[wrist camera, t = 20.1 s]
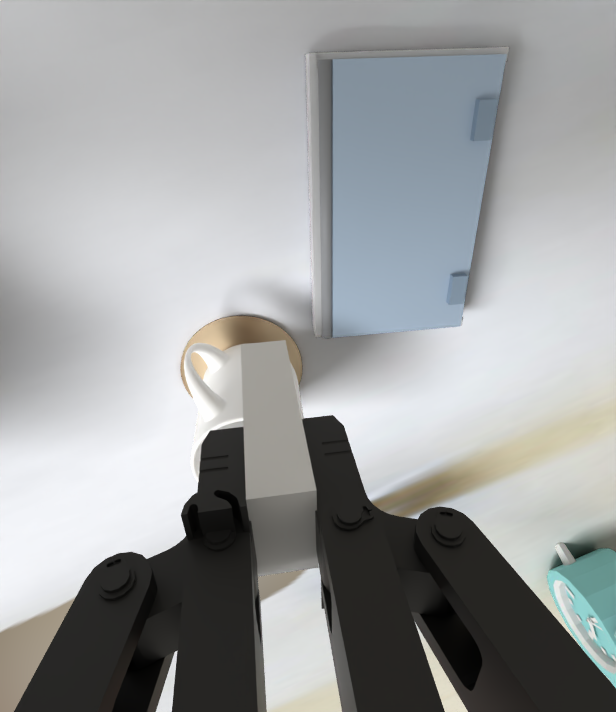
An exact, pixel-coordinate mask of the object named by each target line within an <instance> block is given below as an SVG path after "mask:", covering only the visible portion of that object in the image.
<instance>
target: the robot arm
mask: <svg viewBox="0 0 616 712" xmlns="http://www.w3.org/2000/svg"><path fill="white" fill-rule="evenodd" d="M241 367H242V397H243V426H244V427H237V428H228V429H220V430H211V431H209V433H208V435H207V436H206V438H205V439H204V441H203V443H202V444H201V456H200V460H201V461H200V469H199V471H200V473H199V481H198V493H196V494H194V495H193V496H192V497H191V498H190V499H189V500H188V501H187V502H186V504H185V505H184V508H183V510H182V513H181V517H182V521H183V525H184V528H185V532H186V537H185V538H184V539H183V540H182V541H181V542H180V543H178V544H177V545H176V546H174V547H172V548H170V549H169V550H167V551H164V552H162V553H160V554H158V555H155V556H153V557H151V558H148V559H146V558H145V557H144V556H143V555H140V554H137V553H133V552H127V553H119V554H116V555H114V556H111V557H109V558H107V559H105V560H104V561H103V562H101V563H100V564H99V565H97V566H96V567H95V568H94V569H93V570H92V572H91V573H90V574H89V576H88V577H87V578H86V580H85V581H84V583H83V585H82V587H81V589H80V591H79V592H78V594H77V596H76V598H75V600H74V602H73V604H72V606H71V607H70V609H69V611H68V613H67V615H66V616H65V618H64V620H63V622H62V624H61V626H60V628H59V630H58V631H57V633H56V635H55V637H54V639H53V641H52V642H51V644H50V646H49V648H48V650H47V652H46V653H45V655H44V657H43V659H42V661H41V663H40V665H39V666H38V668H37V670H36V672H35V674H34V676H33V678H32V679H31V682H30V683H29V685H28V687H27V689H26V691H25V692H24V694H23V696H22V698H21V700H20V702H19V703H18V705H17V707H16V709H15V711H14V712H156V709H157V706H158V702H159V699H160V696H161V693H162V690H163V687H164V684H165V680H166V677H167V674H168V671H169V668H170V665H171V662H172V658H173V655H174V652H175V651H177V650H178V652H177V663H176V674H175V684H174V695H173V706H172V712H267V711H266V693H265V676H264V658H263V641H262V624H261V606H260V596H259V589H258V576H265V575H271V574H278V573H284V572H291V571H298V570H304V569H311V568H318V567H319V568H320V574H321V596H322V609H323V608H324V609H325V614H326V620H327V626H328V632H329V638H330V643H331V649H332V655H333V661H334V666H335V672H336V678H337V684H338V690H339V695H340V701H341V707H342V712H445V711H444V708H443V705H442V702H441V699H440V696H439V693H438V690H437V687H436V684H435V681H434V678H433V675H432V672H431V669H430V666H429V663H428V660H427V657H426V654H425V651H424V649H423V646H422V643H421V640H420V637H419V634H418V631H417V628H416V625H415V622H416V624H417V626H418V627H419V629H420V631H421V633H422V634H423V636H424V638H425V639H426V641H427V643H428V644H429V646H430V648H431V649H432V651H433V653H434V655H435V656H436V658H437V660H438V661H439V663H440V665H441V666H442V668H443V670H444V671H445V673H446V675H447V677H448V678H449V680H450V682H451V683H452V685H453V687H454V688H455V690H456V692H457V694H458V695H459V697H460V699H461V700H462V702H463V704H464V705H465V707H466V709H467V710H468V712H616V688H615V687H614V686H613V684H612V683H611V682H610V681H609V680H608V679H607V677H606V676H605V675H604V674H603V673H602V672H601V670H600V669H599V668H598V667H597V666H596V665H595V663H594V662H593V661H592V660H591V659H590V658H589V656H588V655H587V654H586V653H585V652H584V651H583V649H582V648H581V647H580V646H579V645H578V644H577V642H576V641H575V640H574V639H573V638H572V637H571V635H570V634H569V633H568V632H567V631H566V630H565V628H564V627H563V626H562V625H561V624H560V623H559V621H558V620H557V619H556V618H555V617H554V616H553V614H552V613H551V612H550V611H549V610H548V609H547V607H546V606H545V605H544V604H543V603H542V602H541V600H540V599H539V598H538V597H537V596H536V595H535V594H534V592H533V591H532V590H531V589H530V588H529V587H528V585H527V584H526V583H525V582H524V581H523V580H522V578H521V577H520V576H519V575H518V574H517V573H516V571H515V570H514V569H513V568H512V567H511V566H510V564H509V563H508V562H507V561H506V560H505V559H504V557H503V556H502V555H501V554H500V553H499V552H498V550H497V549H496V548H495V547H494V546H493V545H492V543H491V542H490V541H489V540H488V539H487V538H486V536H485V535H484V534H483V533H482V532H481V531H480V529H479V528H478V527H477V526H476V525H475V524H474V522H473V521H472V520H470V519H469V518H468V517H467V516H466V515H465V514H463V513H461V512H459V511H457V510H454V509H452V508H446V507H435V508H430V509H428V510H426V511H425V512H423V513H422V514H421V515H420V517H419V518H418V519H412V518H405V517H399V516H394V515H390V514H388V513H385V512H383V511H381V510H380V509H378V508H377V507H376V506H374V505H373V504H372V503H371V501H370V500H369V499H368V497H367V495H366V493H365V490H364V487H363V484H362V481H361V478H360V475H359V472H358V469H357V466H356V462H355V459H354V456H353V453H352V450H351V447H350V444H349V442H348V438H347V435H346V432H345V428H344V426H343V425H342V424H341V423H340V422H339V421H338V420H337V419H336V418H335V417H334V416H333V415H331V416H322V417H314V418H305V419H302V418H301V413H300V408H299V403H298V398H297V393H296V389H295V384H294V379H293V374H292V369H291V364H290V360H289V355H288V350H287V345H286V340H281V341H270V342H260V343H250V344H241ZM318 563H319V566H318ZM414 621H415V622H414Z"/></svg>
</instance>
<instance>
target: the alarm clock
mask: <svg viewBox="0 0 616 712" xmlns="http://www.w3.org/2000/svg"><path fill="white" fill-rule="evenodd" d="M555 549H556V551H557V553H558V555H559V557H560V559H561V561H562V563H563V565H561V566H558V567H556V568H554V569H551V570H549V573H548V576H547V579H548V584H549V589H550V592H551V594H552V597H553V599H554V601H555V604H556V606H557V608H558V610H559V612H560V614H561V616H562V617H563V619H564V621H565V623H566V625H567V627H568V628H569V630H570V631H571V633H572V634H573V636H574V637H575V639H576V640H577V642H578V643H579V645H580V646H581V648H582V649H583V650H584V652H585V653H586V654H587V655H588V656H589V658H590V659H591V660H592V661H593V662H594V663H595V665H596V666H597V667H598V668H599V669H600V670H601V672H602V673H603V674H605V675H606V676H607V677H608V678H609V679H610V681H611V682H612V684H613V686H614V687H615V688H616V552H615V551H613V550H611V549H610V548H600V549H597V550H595V551H593V552H590V553H588V554H586V555H584V556H581V557H579V558H577V559H574V557H573V556H572V554H571V553H570V551H569V550H568V549H567V547H566V546H565V544H564V543H558V544H557V545H556V546H555Z"/></svg>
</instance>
